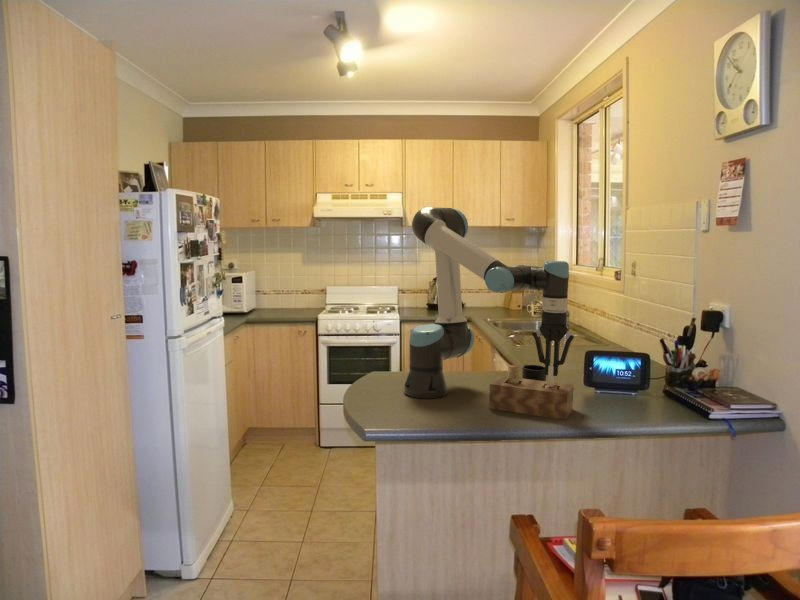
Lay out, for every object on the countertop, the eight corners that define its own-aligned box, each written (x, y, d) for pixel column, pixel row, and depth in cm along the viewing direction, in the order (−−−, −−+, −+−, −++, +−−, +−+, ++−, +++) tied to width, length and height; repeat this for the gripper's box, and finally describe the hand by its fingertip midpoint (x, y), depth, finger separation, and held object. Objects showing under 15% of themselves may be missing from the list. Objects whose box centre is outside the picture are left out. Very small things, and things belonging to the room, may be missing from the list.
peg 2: (542, 410, 176) (544, 387, 175) (545, 407, 179) (546, 384, 178) (554, 412, 174) (555, 388, 173) (556, 409, 178) (557, 386, 177)
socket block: (489, 408, 179) (489, 384, 178) (499, 398, 190) (500, 375, 189) (566, 420, 169) (567, 394, 168) (572, 409, 180) (573, 384, 179)
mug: (536, 387, 204) (537, 362, 203) (549, 397, 193) (550, 370, 192) (514, 388, 203) (515, 362, 202) (526, 397, 192) (527, 370, 190)
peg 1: (505, 390, 180) (506, 367, 180) (508, 387, 184) (509, 365, 183) (517, 391, 179) (517, 368, 178) (519, 388, 182) (520, 366, 181)
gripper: (530, 310, 172) (527, 385, 175) (574, 314, 167) (570, 391, 170) (535, 308, 179) (532, 380, 182) (578, 311, 174) (574, 385, 176)
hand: (550, 385), depth 176 cm, fingers closed
